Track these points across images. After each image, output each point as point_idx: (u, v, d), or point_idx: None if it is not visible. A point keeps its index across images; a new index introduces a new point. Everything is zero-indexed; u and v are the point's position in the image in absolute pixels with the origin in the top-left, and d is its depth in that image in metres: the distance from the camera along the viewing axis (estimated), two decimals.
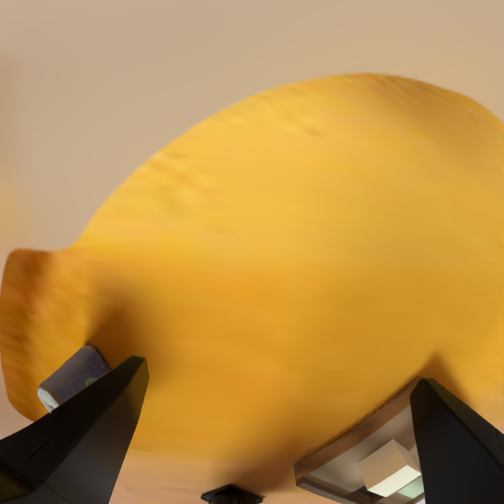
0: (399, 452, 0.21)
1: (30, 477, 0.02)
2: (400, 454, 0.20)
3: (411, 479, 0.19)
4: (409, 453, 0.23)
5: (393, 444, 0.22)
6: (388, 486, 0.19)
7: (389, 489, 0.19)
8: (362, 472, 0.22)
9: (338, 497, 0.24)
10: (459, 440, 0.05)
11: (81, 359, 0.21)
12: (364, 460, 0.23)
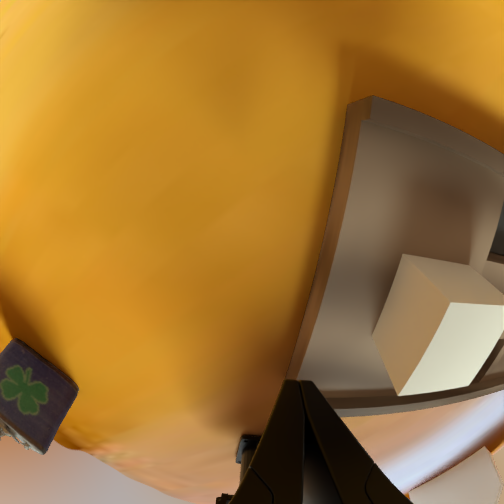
0: (425, 277, 0.10)
1: None
2: (428, 281, 0.10)
3: (499, 328, 0.09)
4: (470, 270, 0.12)
5: (407, 264, 0.12)
6: (452, 367, 0.09)
7: (460, 371, 0.10)
8: (382, 354, 0.12)
9: (396, 406, 0.15)
10: (316, 466, 0.05)
11: (2, 353, 0.17)
12: (378, 325, 0.14)
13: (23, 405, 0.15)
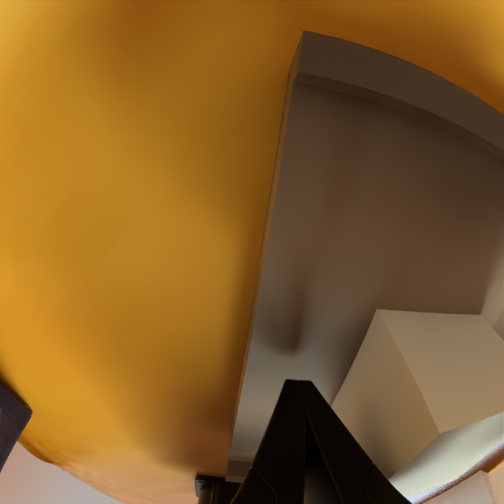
0: (406, 364, 0.06)
1: None
2: (410, 374, 0.05)
3: None
4: (483, 325, 0.07)
5: (381, 329, 0.07)
6: (432, 478, 0.05)
7: (445, 475, 0.05)
8: None
9: None
10: (315, 466, 0.05)
11: None
12: (337, 402, 0.09)
13: None
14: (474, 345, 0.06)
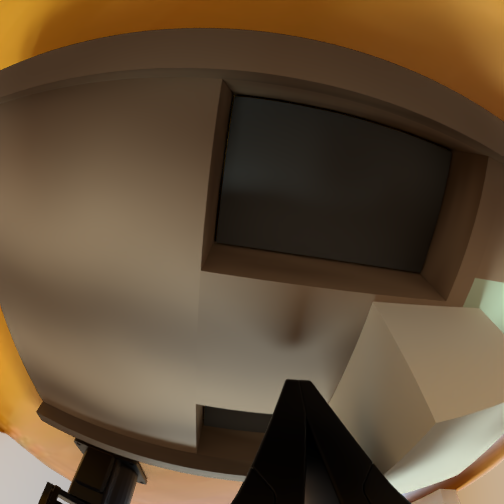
0: (402, 354, 0.06)
1: None
2: (406, 364, 0.05)
3: None
4: (482, 318, 0.07)
5: (378, 321, 0.07)
6: (432, 473, 0.05)
7: (446, 471, 0.05)
8: None
9: (151, 459, 0.11)
10: (314, 466, 0.05)
11: None
12: (336, 397, 0.09)
13: None
14: (472, 337, 0.06)
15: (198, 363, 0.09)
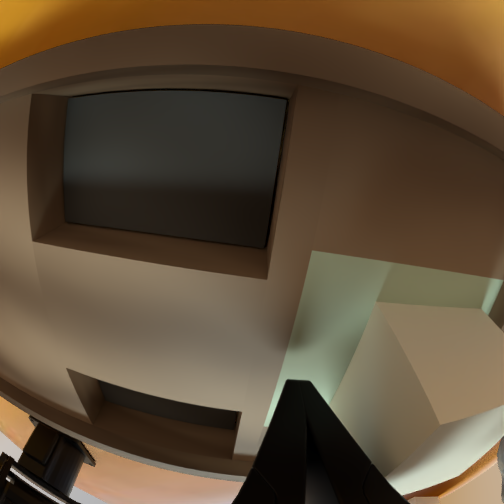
0: (405, 355, 0.06)
1: None
2: (409, 365, 0.05)
3: None
4: (484, 319, 0.07)
5: (380, 321, 0.07)
6: (433, 474, 0.05)
7: (447, 472, 0.05)
8: None
9: (56, 423, 0.11)
10: (313, 466, 0.05)
11: None
12: (336, 397, 0.09)
13: None
14: (475, 338, 0.06)
15: (51, 325, 0.09)
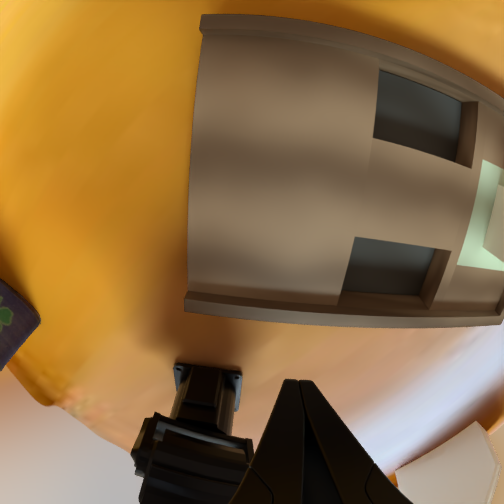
0: None
1: None
2: None
3: None
4: None
5: (503, 189, 0.13)
6: None
7: None
8: (496, 254, 0.14)
9: (305, 313, 0.17)
10: (316, 466, 0.05)
11: None
12: (487, 237, 0.15)
13: None
14: None
15: (364, 197, 0.15)
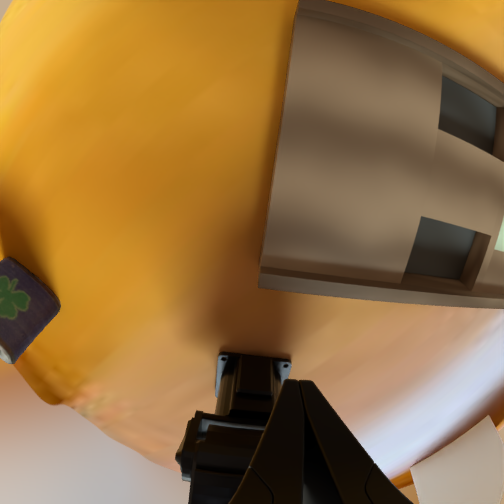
0: None
1: None
2: None
3: None
4: None
5: None
6: None
7: None
8: None
9: (377, 289, 0.17)
10: (316, 466, 0.05)
11: None
12: None
13: (2, 309, 0.17)
14: None
15: (430, 180, 0.15)
